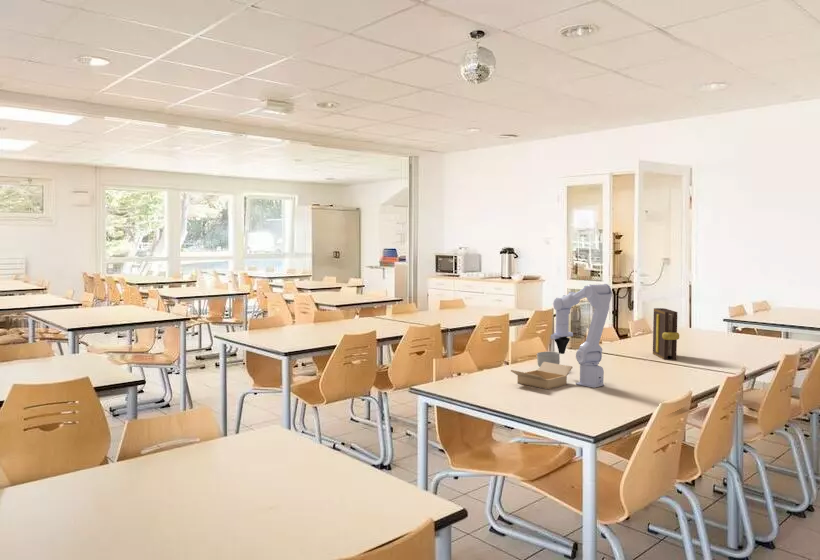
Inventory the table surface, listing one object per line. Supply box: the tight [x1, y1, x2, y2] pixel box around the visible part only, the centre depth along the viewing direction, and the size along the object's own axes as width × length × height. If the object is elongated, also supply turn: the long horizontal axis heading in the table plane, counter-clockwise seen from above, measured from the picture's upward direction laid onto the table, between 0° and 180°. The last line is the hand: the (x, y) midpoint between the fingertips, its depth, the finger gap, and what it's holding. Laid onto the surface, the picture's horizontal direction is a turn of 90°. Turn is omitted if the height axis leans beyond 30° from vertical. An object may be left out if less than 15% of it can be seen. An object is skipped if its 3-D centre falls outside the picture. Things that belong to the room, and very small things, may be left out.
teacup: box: [536, 350, 561, 368], centre depth 306 cm, size 14×11×8 cm
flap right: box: [537, 362, 573, 377], centre depth 278 cm, size 15×6×1 cm
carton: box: [517, 369, 568, 391], centre depth 272 cm, size 16×13×4 cm
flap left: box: [510, 369, 547, 381], centre depth 266 cm, size 15×6×1 cm, turn 41°
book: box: [652, 307, 680, 361], centre depth 336 cm, size 22×8×25 cm, turn 178°
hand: (561, 353), depth 288 cm, fingers closed
